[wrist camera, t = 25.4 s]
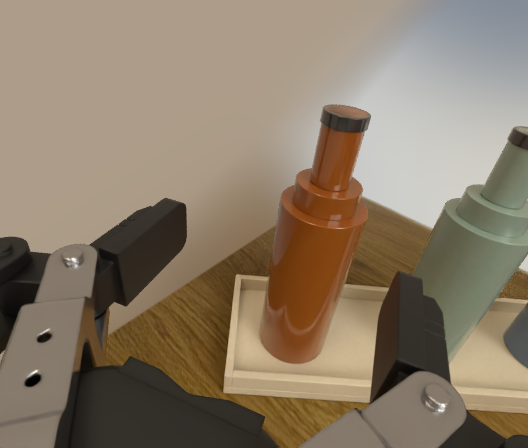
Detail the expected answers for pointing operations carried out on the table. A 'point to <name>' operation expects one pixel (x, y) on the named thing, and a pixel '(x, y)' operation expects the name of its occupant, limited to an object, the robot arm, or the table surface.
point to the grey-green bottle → (478, 244)
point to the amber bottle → (315, 241)
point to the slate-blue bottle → (518, 337)
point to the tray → (367, 354)
